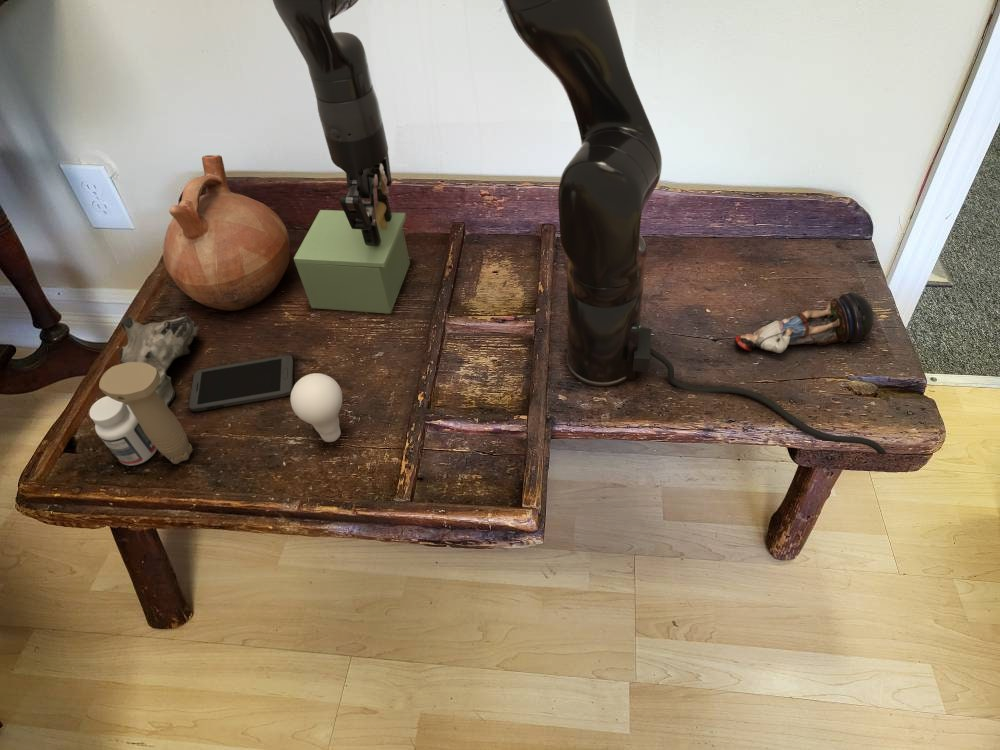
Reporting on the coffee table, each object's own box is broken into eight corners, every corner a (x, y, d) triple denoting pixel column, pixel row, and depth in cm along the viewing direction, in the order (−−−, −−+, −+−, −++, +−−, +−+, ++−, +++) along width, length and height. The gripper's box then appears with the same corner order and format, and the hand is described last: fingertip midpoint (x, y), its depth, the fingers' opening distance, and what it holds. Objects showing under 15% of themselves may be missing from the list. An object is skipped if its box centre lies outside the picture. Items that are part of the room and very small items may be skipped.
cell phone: (293, 395, 99) (291, 392, 99) (189, 413, 98) (187, 409, 98) (294, 356, 104) (292, 353, 103) (195, 373, 103) (193, 370, 103)
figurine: (886, 307, 91) (738, 327, 94) (881, 352, 95) (738, 369, 98) (864, 280, 98) (726, 299, 100) (860, 323, 101) (727, 340, 104)
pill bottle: (145, 427, 97) (114, 384, 91) (167, 446, 95) (137, 403, 88) (110, 453, 95) (75, 410, 88) (131, 473, 93) (97, 431, 86)
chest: (410, 263, 116) (400, 218, 110) (390, 313, 109) (379, 268, 102) (335, 259, 118) (321, 214, 112) (311, 308, 111) (294, 263, 104)
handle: (196, 471, 92) (144, 395, 81) (149, 468, 93) (91, 392, 82) (211, 441, 95) (163, 363, 84) (165, 438, 96) (112, 360, 85)
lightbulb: (358, 417, 96) (338, 361, 88) (353, 455, 92) (332, 400, 84) (312, 420, 96) (288, 364, 88) (305, 459, 92) (280, 403, 84)
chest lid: (406, 217, 109) (400, 188, 106) (385, 267, 102) (377, 238, 98) (321, 213, 112) (312, 185, 108) (294, 263, 104) (284, 234, 100)
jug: (276, 330, 108) (229, 220, 93) (165, 323, 111) (102, 215, 96) (316, 251, 120) (280, 141, 105) (214, 246, 123) (165, 139, 108)
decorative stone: (185, 407, 98) (137, 357, 91) (129, 419, 100) (78, 370, 94) (221, 327, 109) (180, 276, 102) (170, 339, 111) (127, 290, 105)
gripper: (363, 155, 87) (390, 265, 100) (395, 95, 96) (416, 203, 109) (304, 153, 88) (338, 262, 101) (342, 94, 97) (368, 201, 110)
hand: (379, 231), depth 105 cm, fingers closed on chest lid, 5 cm apart
